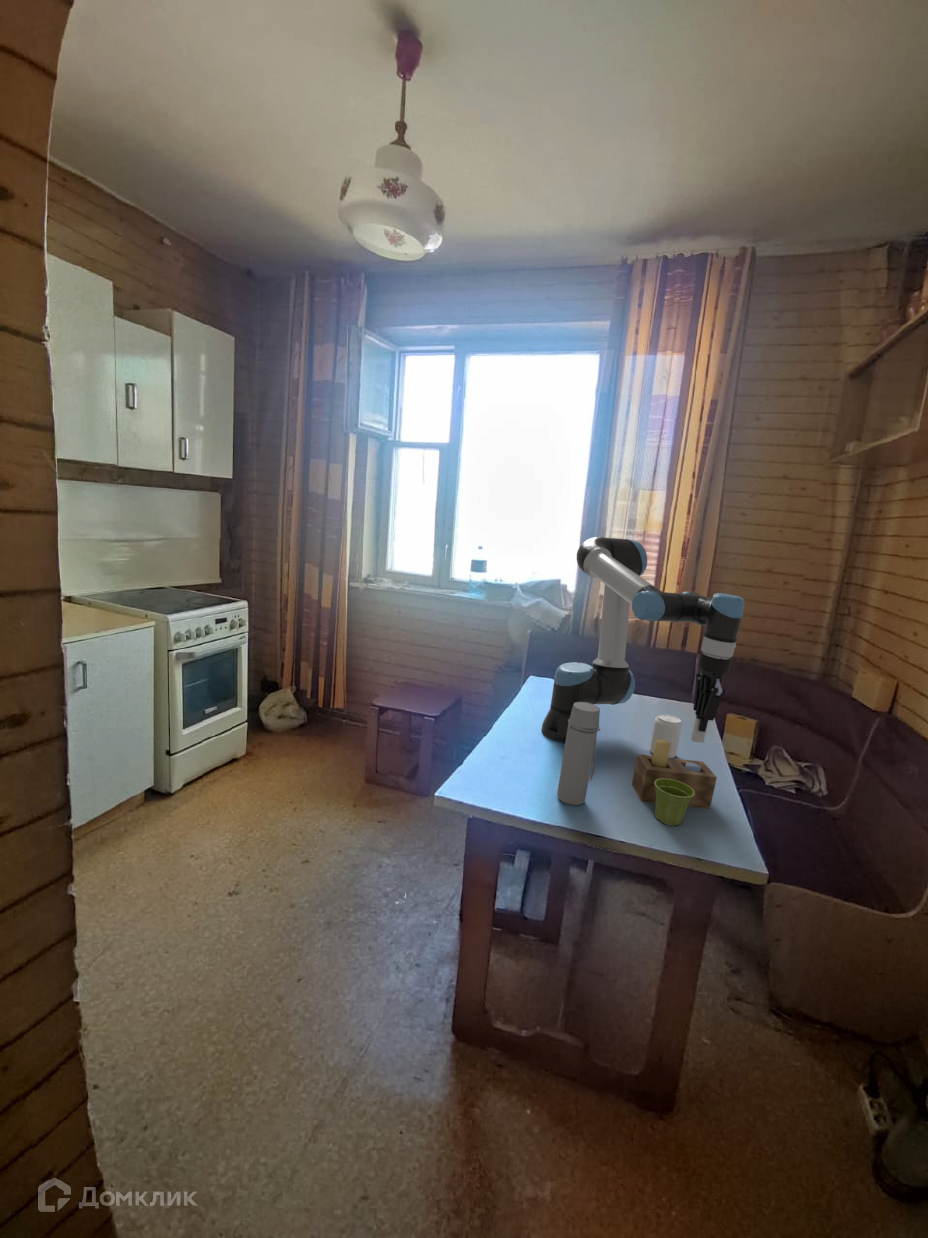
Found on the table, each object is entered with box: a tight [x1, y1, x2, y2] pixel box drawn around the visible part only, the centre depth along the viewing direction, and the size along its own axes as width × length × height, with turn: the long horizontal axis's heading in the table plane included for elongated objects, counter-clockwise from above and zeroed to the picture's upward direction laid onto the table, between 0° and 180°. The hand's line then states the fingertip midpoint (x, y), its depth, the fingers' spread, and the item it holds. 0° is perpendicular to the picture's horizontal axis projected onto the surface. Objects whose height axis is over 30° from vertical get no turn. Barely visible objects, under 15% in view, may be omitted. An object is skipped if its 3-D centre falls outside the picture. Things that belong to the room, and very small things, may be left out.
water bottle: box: [556, 702, 601, 806], centre depth 144 cm, size 9×8×25 cm
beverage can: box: [648, 713, 683, 758], centre depth 180 cm, size 8×8×12 cm
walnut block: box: [631, 754, 717, 810], centre depth 152 cm, size 18×9×9 cm, turn 89°
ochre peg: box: [651, 739, 671, 768], centre depth 151 cm, size 4×4×8 cm
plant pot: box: [654, 778, 695, 827], centre depth 141 cm, size 9×9×9 cm
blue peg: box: [685, 762, 701, 772], centre depth 152 cm, size 4×4×8 cm
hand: (697, 740), depth 150 cm, fingers closed
